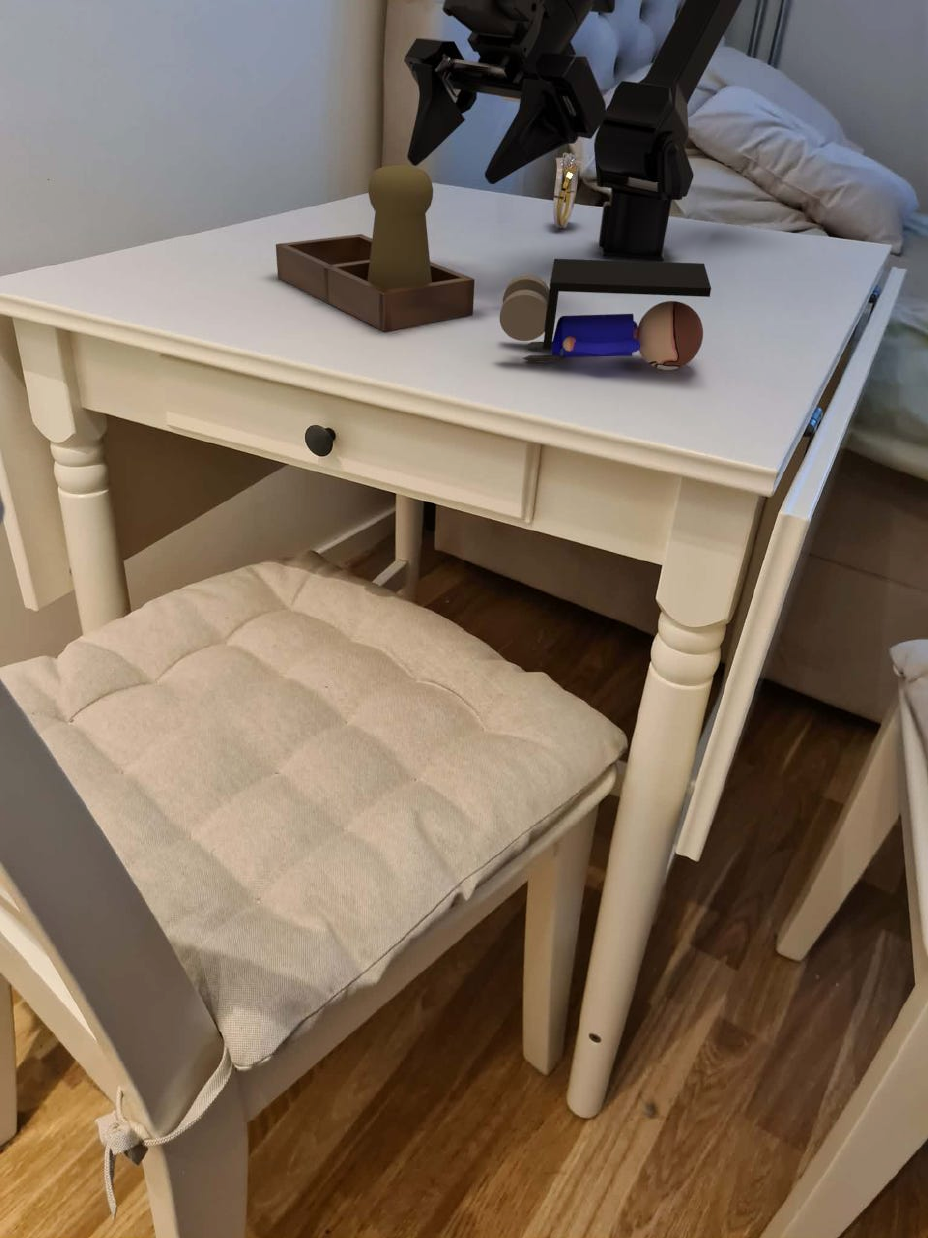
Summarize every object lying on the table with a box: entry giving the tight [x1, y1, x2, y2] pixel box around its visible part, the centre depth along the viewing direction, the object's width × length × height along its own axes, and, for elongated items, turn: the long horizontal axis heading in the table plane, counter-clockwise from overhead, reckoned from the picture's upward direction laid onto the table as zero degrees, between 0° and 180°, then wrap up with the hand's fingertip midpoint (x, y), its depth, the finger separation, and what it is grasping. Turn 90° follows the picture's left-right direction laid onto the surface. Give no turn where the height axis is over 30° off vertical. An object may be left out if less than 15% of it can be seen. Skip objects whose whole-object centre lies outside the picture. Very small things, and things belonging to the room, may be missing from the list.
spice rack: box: [275, 233, 476, 332], centre depth 78 cm, size 9×18×3 cm, turn 38°
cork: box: [367, 164, 434, 290], centre depth 73 cm, size 6×6×11 cm
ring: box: [552, 151, 583, 229], centre depth 103 cm, size 7×3×8 cm, turn 157°
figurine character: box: [499, 258, 712, 371], centre depth 66 cm, size 7×8×15 cm
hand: (448, 170), depth 74 cm, fingers open, 9 cm apart
